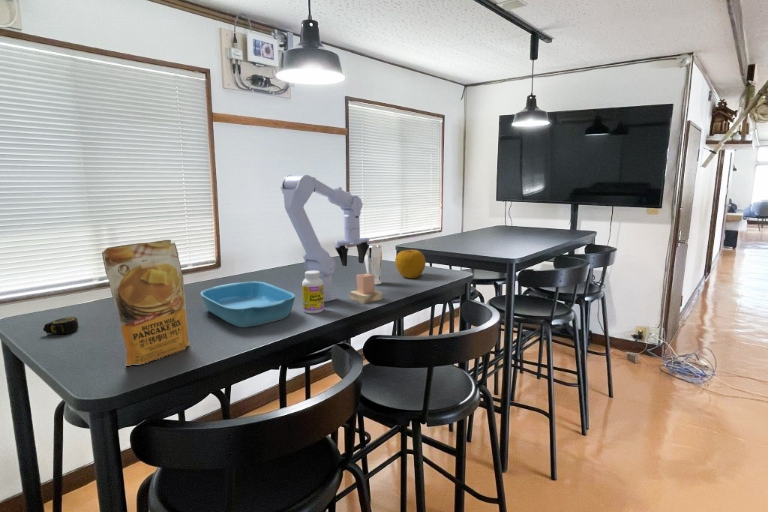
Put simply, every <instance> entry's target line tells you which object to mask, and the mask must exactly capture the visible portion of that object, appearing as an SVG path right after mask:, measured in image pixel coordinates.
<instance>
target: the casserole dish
mask: <svg viewBox="0 0 768 512" xmlns="http://www.w3.org/2000/svg"><path fill="white" fill-rule="evenodd" d="M200 296H201V298H202V300H203V302H204V305H205V306H206V309H207V310H208V311H209V312H210V313H211V314H213V315H215V316H216V317H218V318H220V319H221V320H223V321H225V322H227V323H229V324H231V325H233V326H235V327H238V328H249V327H255V326H260V325H265V324H267V323H272V322H276V321H279V320H284V319H285V318H287V316H289V315H290V314H291V312H292V310H293V306H294V302H295V298H296V295H295V293H293V292H291V291H288V290H286V289H284V288H280V287H277V286H275V285H273V284H271V283H267V282H263V281H253V280H252V281H244V282H243V281H242V282H232V283H228V284H227V283H226V284H222V285H216V286H213V287H210V288H206V289H203V290H201V292H200Z"/></svg>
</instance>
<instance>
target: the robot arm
mask: <svg viewBox="0 0 768 512" xmlns="http://www.w3.org/2000/svg"><path fill="white" fill-rule="evenodd" d="M280 190H281V192H282V195H283V203H284V208H285V212H286V214H287V215H288V218H289V219H290V221H291V224H292V226H293V228H294V231H295V232H296V234H297V237H298V239H299V240H300V244H301V245H302V247H303V250H304V251H305V252H304V254H303V256H302V257H303V260H304V267H305V269H306V271H313V270H315V271H320V276H319V279H321V280H322V281H323V292H324V303H325V302H329V301H330V302H331V301H334V300H338V298H337V297H336V296H334V295H333V296H332V275H333V273H334V271H335V270H336V262H335V259H334V258H333V257H332V256H331V255H330V252H329V251H327V250H326V249H325V248H323V246H322V245H321V243H320V241H319V239H318V236H317V234H316V232H315V229H314V227H313V226H312V223H311V221H310V219H309V216H308V215H307V214H308V213H307V212H306V210H305V205H306V204H307V202H308V201H309V199H310V197H311V196H312V194H313V193H316V194H318V195H321V196H323V197H326V198H327V201H328V202H330V203H331V204H334V205H336V206H338V207H340V209H341V211H343V233H344V234H343V235H344V239H342V240H341V239H340V240H338V241H334V243H333V244H334V247H335V248H334V249H335V251H336V252H337V254H338V256H339V259H340V262H341V266H343V267H347V266H348V253H349V248H348V247H350V246H355V245H356V249H357V259H358V263H359V264H364V263H365V254H366V252H367V250H368V248H369V245H370V237H361V233H360V232H361V231H360V216H361V211H362V208H363V205H364V203H363V202H362V199H361V198H360V197H359V196H358V195H353V194H351V192H350V191H346V190H343V188H342V187H341V186H334V187H330V186H329V185H327V184H325V183H324V182H321V181H320V180H318V179H317V178H316V177H313V176H311V175H309V174H303V175H291V174H288V175H286V176H284V178H283V179H282V182H281V185H280ZM305 279H306V277H304V278H303V280H302V282H303V281H304V280H305ZM302 301H303V297H302Z"/></svg>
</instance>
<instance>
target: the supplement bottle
mask: <svg viewBox="0 0 768 512" xmlns="http://www.w3.org/2000/svg"><path fill="white" fill-rule="evenodd" d="M319 276H320V271H315V270H313V271H307V270H306V271H305V272H304V278H306V279H305V280H304V281H303V280H302V282H301V283H302V285H301V287H302V298H303V300H302V309H303V310H302V311H303V312H305V313H306V314H319V313H322V312H323V311H324V310H325V302H324V292H323V281H322V280H321V279H319Z"/></svg>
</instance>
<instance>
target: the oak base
mask: <svg viewBox="0 0 768 512" xmlns="http://www.w3.org/2000/svg"><path fill="white" fill-rule="evenodd" d="M349 299H350V300H352V301H355V302H357V303H361V304H368V303H371V302H376V301H379V300H380V301H382V300H383V292H382V291H379V290H376V289H375V292H373V293H367V294H362V293H359V292H357V289H356V290H352V291H349Z"/></svg>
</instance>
